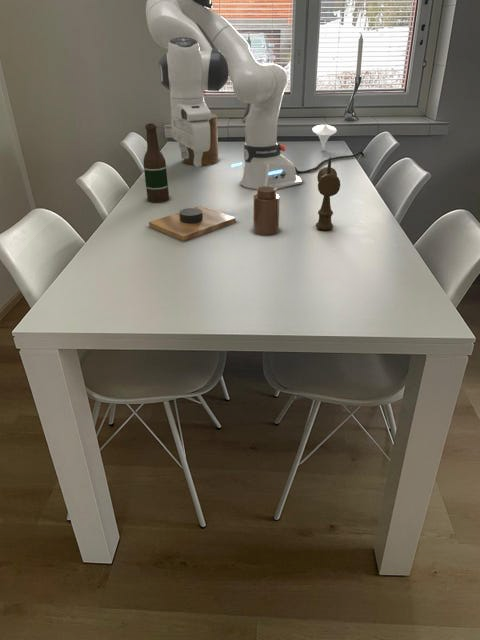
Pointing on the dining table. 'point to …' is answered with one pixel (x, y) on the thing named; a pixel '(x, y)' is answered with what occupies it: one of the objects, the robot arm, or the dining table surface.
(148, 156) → the beer bottle
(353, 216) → the dining table surface
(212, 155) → the wooden container
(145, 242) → the dining table surface
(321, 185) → the kendama
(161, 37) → the robot arm
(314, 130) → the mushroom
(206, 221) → the board
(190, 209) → the lid
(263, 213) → the jar
